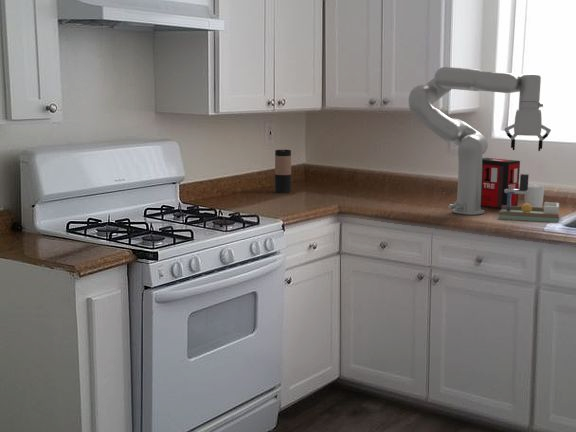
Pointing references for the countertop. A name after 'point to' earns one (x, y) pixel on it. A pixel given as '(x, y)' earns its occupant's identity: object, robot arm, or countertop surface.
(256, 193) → the countertop surface
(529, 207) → the ball
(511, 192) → the kicker rod
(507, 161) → the cleaning product box
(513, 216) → the pitch
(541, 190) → the white cup
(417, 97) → the robot arm
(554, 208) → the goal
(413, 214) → the countertop surface
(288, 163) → the travel mug
